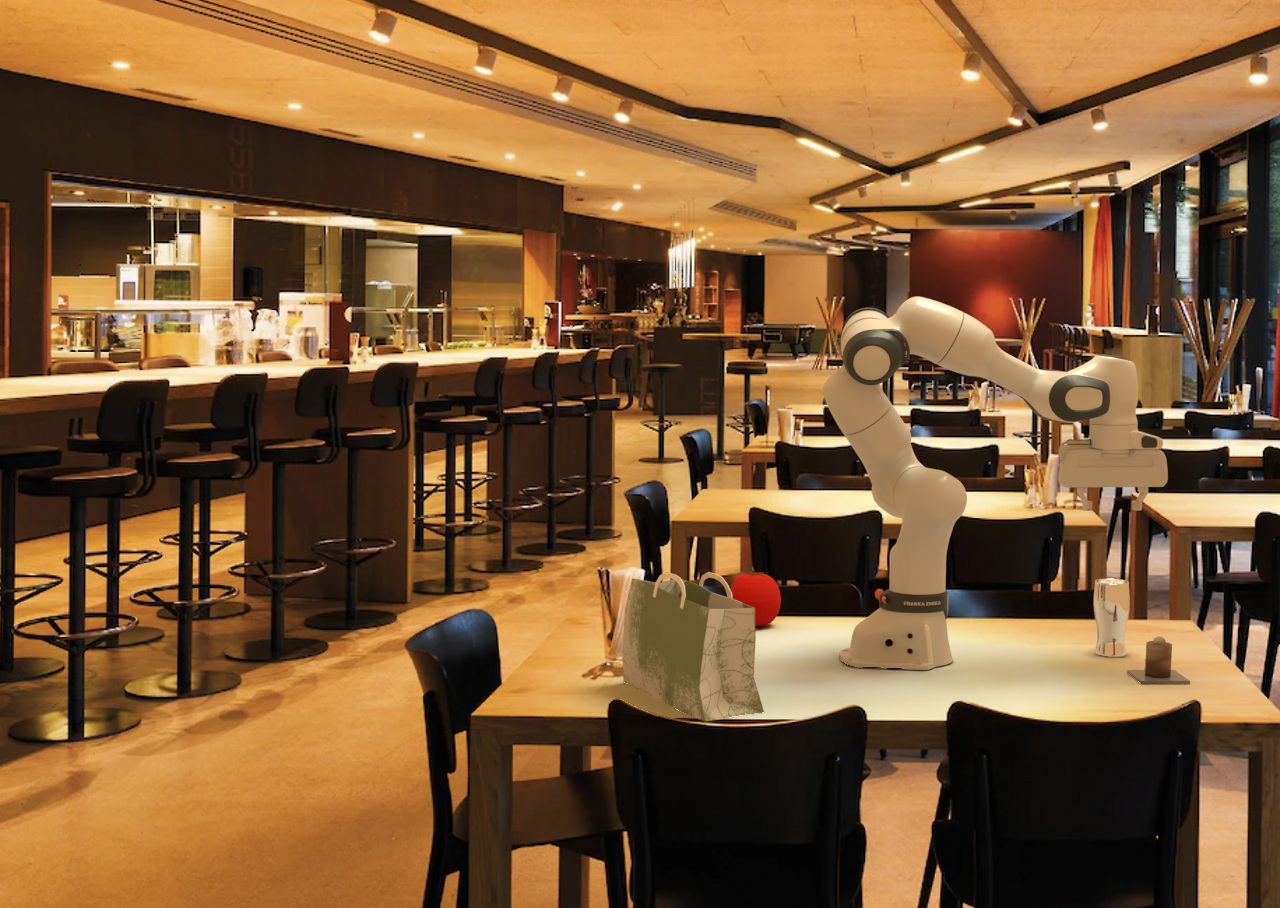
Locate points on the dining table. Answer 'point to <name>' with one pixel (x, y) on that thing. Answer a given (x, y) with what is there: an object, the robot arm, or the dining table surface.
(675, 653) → the grocery bag
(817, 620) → the dining table surface
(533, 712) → the dining table surface
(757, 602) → the tomato
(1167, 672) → the pepper mill
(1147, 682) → the coaster
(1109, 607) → the beer glass
